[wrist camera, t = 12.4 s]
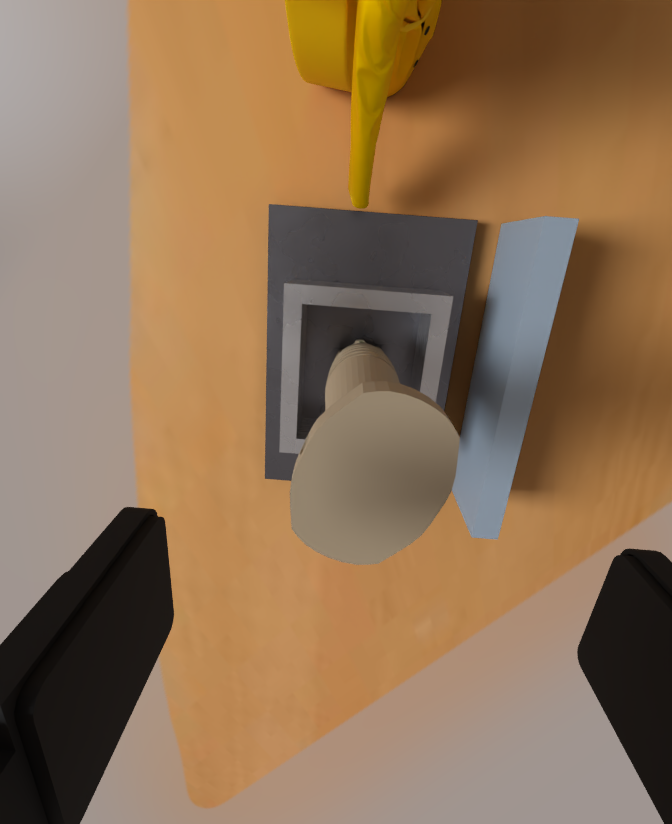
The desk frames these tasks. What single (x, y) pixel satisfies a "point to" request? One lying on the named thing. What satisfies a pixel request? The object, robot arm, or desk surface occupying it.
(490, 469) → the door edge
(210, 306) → the desk surface
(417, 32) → the figure statuette
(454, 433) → the handle
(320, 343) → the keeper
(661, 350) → the desk surface
